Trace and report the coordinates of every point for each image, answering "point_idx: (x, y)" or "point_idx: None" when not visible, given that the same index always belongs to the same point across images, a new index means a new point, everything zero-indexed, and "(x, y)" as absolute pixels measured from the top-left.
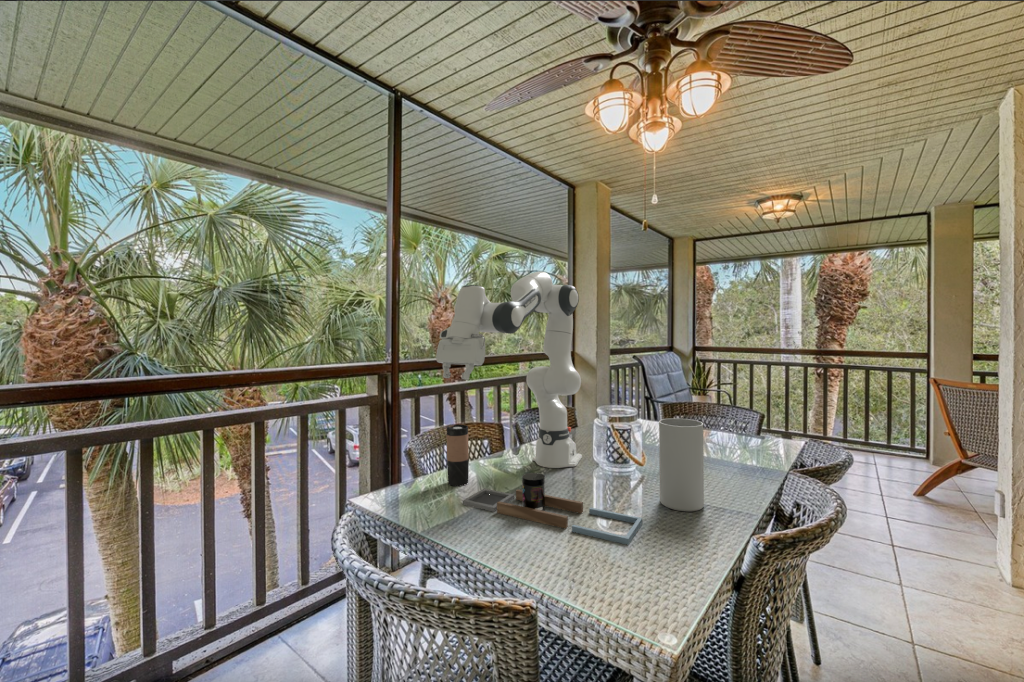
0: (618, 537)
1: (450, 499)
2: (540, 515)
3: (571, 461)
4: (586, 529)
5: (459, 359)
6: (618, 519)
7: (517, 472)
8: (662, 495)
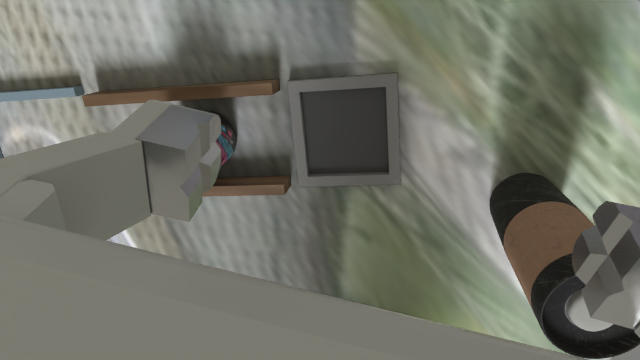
0: None
1: (456, 83)
2: (149, 90)
3: None
4: (42, 90)
5: (141, 307)
6: None
7: None
8: None
